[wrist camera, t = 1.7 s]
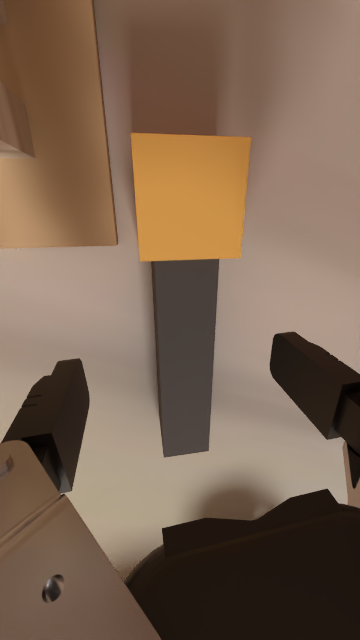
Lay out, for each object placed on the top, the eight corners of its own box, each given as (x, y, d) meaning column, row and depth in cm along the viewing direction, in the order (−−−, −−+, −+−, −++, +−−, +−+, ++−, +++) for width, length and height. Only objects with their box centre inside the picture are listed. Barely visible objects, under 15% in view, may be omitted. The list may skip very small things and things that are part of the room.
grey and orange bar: (132, 158, 13) (130, 132, 9) (216, 160, 14) (251, 137, 10) (151, 419, 20) (154, 472, 16) (205, 412, 21) (222, 462, 17)
